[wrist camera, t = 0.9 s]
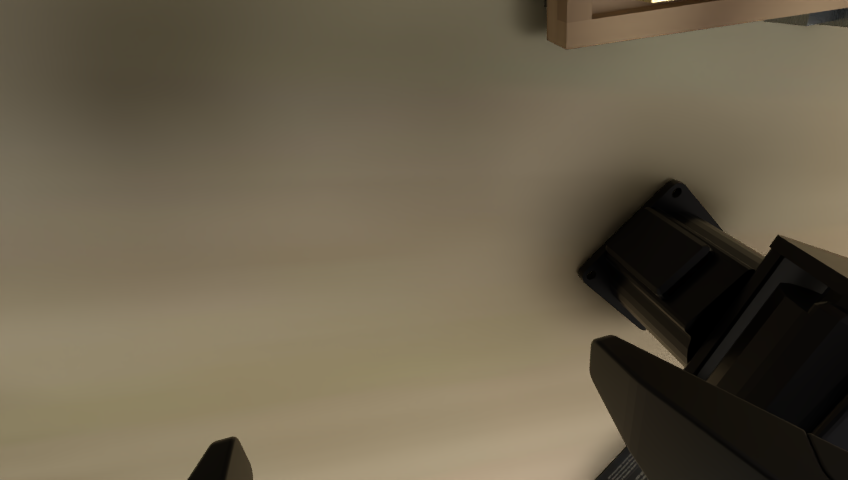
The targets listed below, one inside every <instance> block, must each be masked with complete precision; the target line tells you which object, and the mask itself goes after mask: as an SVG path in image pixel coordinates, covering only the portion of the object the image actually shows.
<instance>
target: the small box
mask: <svg viewBox="0 0 848 480" xmlns="http://www.w3.org/2000/svg"><path fill="white" fill-rule="evenodd" d="M596 480H648V479H647V477H646V476H645V474H644V473H643V471H642V470H641V468H640V467H639V465H638V463H637V462H636V460H635V459H634V457H633V456H632V454H631V452H630V451H629V449H628V447H626V448H625V449H624V450H623V451H622V452H621V453H620V454H619V455H618V457H617V458H616V459H615V460H614V461H613V462H612V463H611V464H610V465H609V466H608V467H607V468H606V469H605V470H604V472H603V473H602V474H601V475H600V476H599V477H598V478H597V479H596Z"/></svg>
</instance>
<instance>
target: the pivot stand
mask: <svg viewBox="0 0 848 480" xmlns="http://www.w3.org/2000/svg"><path fill="white" fill-rule="evenodd" d="M545 7H547V0H545ZM764 21H765V22H774V23H784V24H794V25H803V26H809V25H814V24H820V25H830V26H840V27H848V8H842V9H835V10H829V11H822V12H815V13H808V14H802V15H795V16H788V17H781V18H775V19H768V20H764Z"/></svg>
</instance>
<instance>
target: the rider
mask: <svg viewBox="0 0 848 480" xmlns="http://www.w3.org/2000/svg"><path fill="white" fill-rule="evenodd" d="M637 1H643V2H649V3H655V2H661V1H668V0H637Z"/></svg>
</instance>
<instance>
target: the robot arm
mask: <svg viewBox="0 0 848 480" xmlns="http://www.w3.org/2000/svg"><path fill="white" fill-rule="evenodd" d="M675 189H676V190H675ZM674 190H675V192H674V193H672V192H673V191H674ZM769 247H770V248H771V250H770V251H769V252H768V254H767V255H766V256H763V255H761V254H760V253H758V252H756V251H755V250H753V249H751V248H750V247H748V246H746V245H745V244H743V243H741V242H740V241H738V240H736V239H735V238H733V237H731V236H730V235H728V234H726V233H725V232H723V230H722V229H721V228H720V227H719V226H718V224H717V223H716V222H715V221H714V219H713V218H712V217H711V216H710V215H709V213H708V212H707V211H706V210H705V208H704V207H703V206H702V205H701V204H700V202H699V201H698V200H697V199H696V198H695V196H694V195H693V194H692V193H691V191H690V190H689V189H688V188H687V187H686V185H685V184H683V183H681V182H679V181H678V180H671V181H669V182H668V183H666V184H665V185H664V186H663V187H662V188H661V189H660V190H659V191H658V192H657V193H656V194H655V195H654V196H653V197H652V198H651V199H650V200H649V201H648V202H647V203H646V204H645V205H644V206H643V207H642V208H641V209H640V210H639V211H638V212H637V213H636V214H635V215H634V216H633V217H632V218H631V219H630V220H629V221H627V222H626V223H625V224H624V225H623V226H622V227H621V228H620V229H619V230H618V231H617V232H616V233H615V234H614V235H613V236H612V237H611V238H610V239H609V240H608V241H607V242H606V243H605V244H604V245H603V246H602V247H601V248H600V249H599V250H598V251H597V252H596V253H595V254H594V255H593V256H592V257H591V258H590V259H589V260H588V261H587V262H586V263H585V264H583V265H582V267H581V268H580V269H579V272H578V276H579V277H580V278H581V280H582V281H583V282H584V283H586V284H587V285H588V286H589V287H590V288H592V289H593V290H594V291H595V292H596V293H598V294H599V295H600V296H601V297H602V298H604V299H605V300H606V301H607V302H608V303H610V304H611V305H612V306H613V307H614V308H616V309H617V310H618V311H619V312H620V313H622V314H623V315H624V316H625V317H626V318H628V319H629V320H630V321H631V322H632V323H634V324H635V325H636V326H637V327H638V328H640V329H641V330H646V329H647V330H648V331H649V332H650V333H651V334H652V335H653V336H654V337H655V338H656V339H657V340H658V341H659V342H660V343H661V344H662V345H663V346H664V347H665V348H666V349H667V350H668V351H669V352H670V353H671V354H672V355H673V356H674V357H675V358H676V359H677V360H678V361H679V362H680V363H681V364H682V365H683V366H684V367H685V368H684V369H681V368H679V367H677V366H675V365H673V364H671V363H669V362H667V361H665V360H663V359H660V358H658V357H656V356H654V355H652V354H650V353H648V352H646V351H644V350H642V349H640V348H638V347H636V346H634V345H632V344H630V343H628V342H626V341H624V340H622V339H620V338H618V337H616V336H613V335H608V336H604V337H600V338H596V339H594V340H593V341H592V343H591V353H590V375H591V378H592V380H593V383H594V384H595V386H596V388H597V390H598V392H599V394H600V396H601V398H602V400H603V402H604V404H605V406H606V408H607V410H608V411H609V413H610V415H611V417H612V419H613V421H614V423H615V425H616V427H617V429H618V431H619V433H620V435H621V436H622V438H623V440H624V442H625V444H626V446H627V447H628V449H629V451H630V452H631V454H632V456H633V457H634V459H635V460H636V462H637V463H638V465H639V467H640V468H641V470H642V471H643V473H644V474H645V476H646V477H647V479H648V480H848V258H847V257H844V256H841V255H838V254H835V253H832V252H829V251H826V250H823V249H820V248H817V247H814V246H811V245H808V244H805V243H802V242H799V241H796V240H793V239H790V238H787V237H784V236H781V235H777V237H776V238H775V240H774V241H773V242H772V244H771V245H770V246H769ZM590 271H592V272H591V273H590V274H589V275H587V274H588V273H589V272H590ZM188 480H253V473H252V468H251V464H250V462H249V460H248V458H247V456H246V454H245V452H244V450H243V448H242V445H241V443H240V441H239V440H238V439H237V438H236V437H229V438H225V439H222V440H218V441H215V442H213V443H212V444H211V445H210V446H209V447H208V449H207V450H206V452H205V454H204V455H203V457H202V458H201V460H200V461H199V463H198V464H197V466H196V467H195V469H194V470H193V472H192V473H191V475H190V477H189V478H188Z"/></svg>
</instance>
